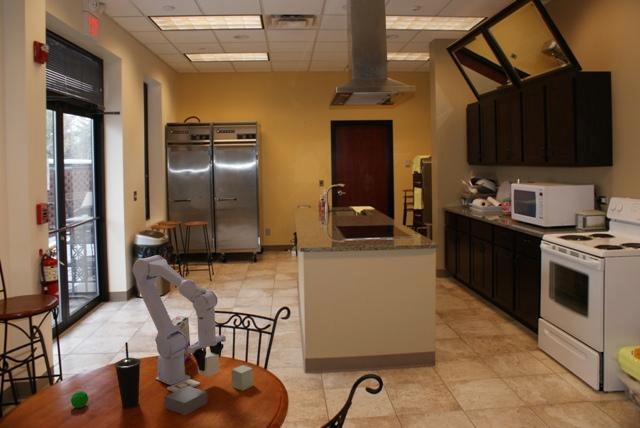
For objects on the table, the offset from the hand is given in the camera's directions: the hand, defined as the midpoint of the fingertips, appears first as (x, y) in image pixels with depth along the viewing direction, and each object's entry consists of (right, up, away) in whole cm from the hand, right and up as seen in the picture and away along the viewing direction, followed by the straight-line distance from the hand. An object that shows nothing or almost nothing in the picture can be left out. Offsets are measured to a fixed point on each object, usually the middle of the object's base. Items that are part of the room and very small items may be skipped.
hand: (208, 367), depth 174 cm
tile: (-8, -6, 0) cm, 10 cm away
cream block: (0, -2, 0) cm, 2 cm away
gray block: (-4, -8, -14) cm, 17 cm away
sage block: (+12, -6, -1) cm, 13 cm away
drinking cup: (-22, -8, -13) cm, 26 cm away
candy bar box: (-16, -5, +22) cm, 28 cm away
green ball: (-37, -9, -13) cm, 40 cm away
